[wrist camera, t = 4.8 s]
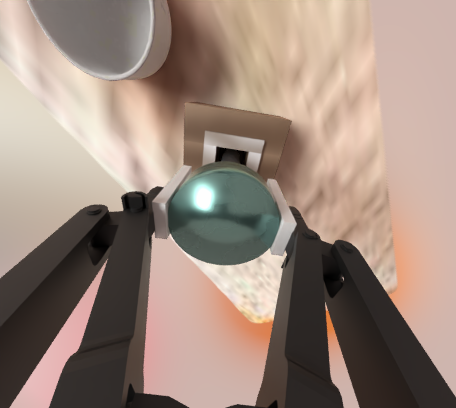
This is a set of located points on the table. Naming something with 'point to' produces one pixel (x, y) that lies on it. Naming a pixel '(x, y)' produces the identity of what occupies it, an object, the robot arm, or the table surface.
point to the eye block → (233, 136)
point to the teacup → (108, 35)
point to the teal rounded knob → (224, 213)
